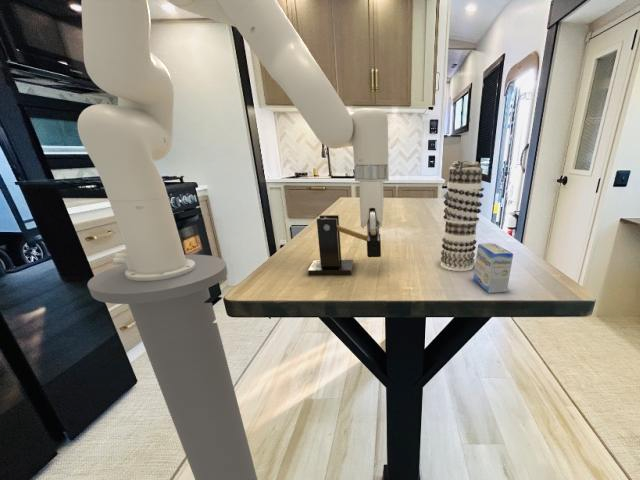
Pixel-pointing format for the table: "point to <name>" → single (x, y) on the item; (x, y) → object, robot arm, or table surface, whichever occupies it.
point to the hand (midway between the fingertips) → (374, 252)
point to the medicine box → (492, 267)
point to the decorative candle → (461, 215)
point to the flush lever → (352, 233)
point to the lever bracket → (329, 249)
